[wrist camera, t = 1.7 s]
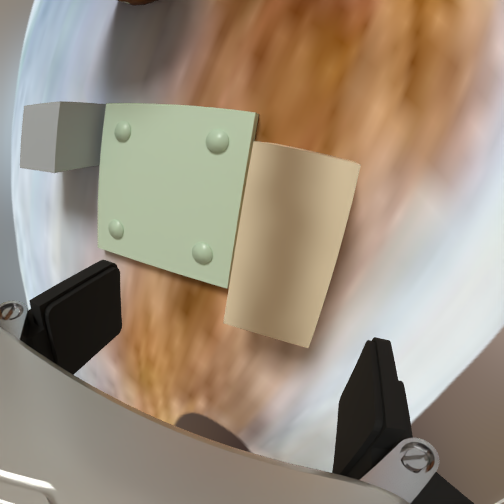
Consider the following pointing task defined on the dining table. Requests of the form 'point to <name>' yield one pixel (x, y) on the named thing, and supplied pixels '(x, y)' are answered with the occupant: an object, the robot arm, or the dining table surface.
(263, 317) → the beech block
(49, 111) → the grey cube
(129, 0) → the food container
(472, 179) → the dining table surface
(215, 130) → the baseplate
